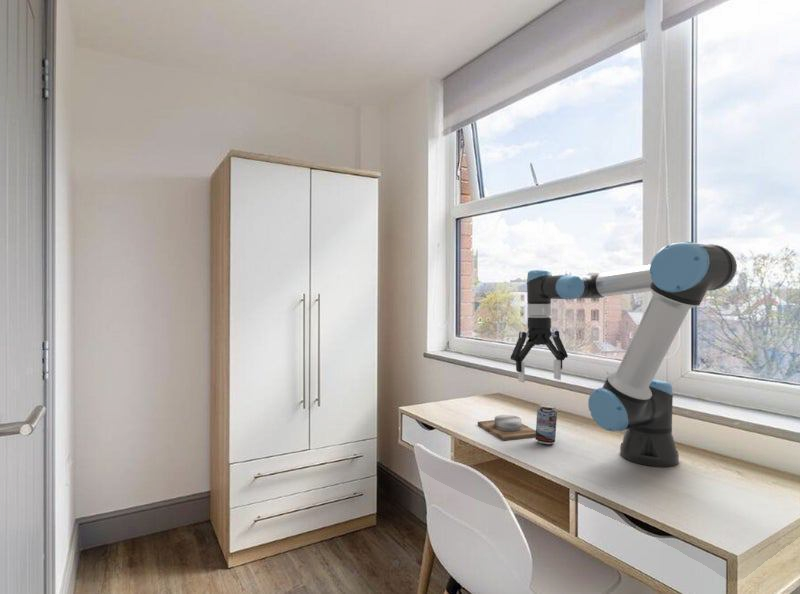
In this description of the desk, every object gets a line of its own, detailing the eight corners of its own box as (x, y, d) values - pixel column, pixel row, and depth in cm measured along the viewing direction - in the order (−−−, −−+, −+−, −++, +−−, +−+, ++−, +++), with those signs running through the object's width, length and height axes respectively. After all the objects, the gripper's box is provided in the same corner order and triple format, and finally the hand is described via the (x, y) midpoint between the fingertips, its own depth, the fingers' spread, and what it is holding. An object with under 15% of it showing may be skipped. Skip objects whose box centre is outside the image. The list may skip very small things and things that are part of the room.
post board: (540, 436, 157) (540, 424, 157) (503, 440, 153) (503, 427, 152) (512, 421, 174) (512, 410, 174) (477, 425, 170) (477, 413, 170)
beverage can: (533, 444, 149) (533, 407, 148) (538, 438, 155) (538, 401, 155) (554, 448, 146) (554, 409, 145) (558, 441, 152) (558, 404, 152)
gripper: (564, 315, 164) (565, 376, 164) (499, 317, 157) (500, 380, 157) (578, 316, 157) (578, 380, 157) (511, 318, 150) (511, 384, 150)
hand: (539, 380), depth 157 cm, fingers open, 13 cm apart
